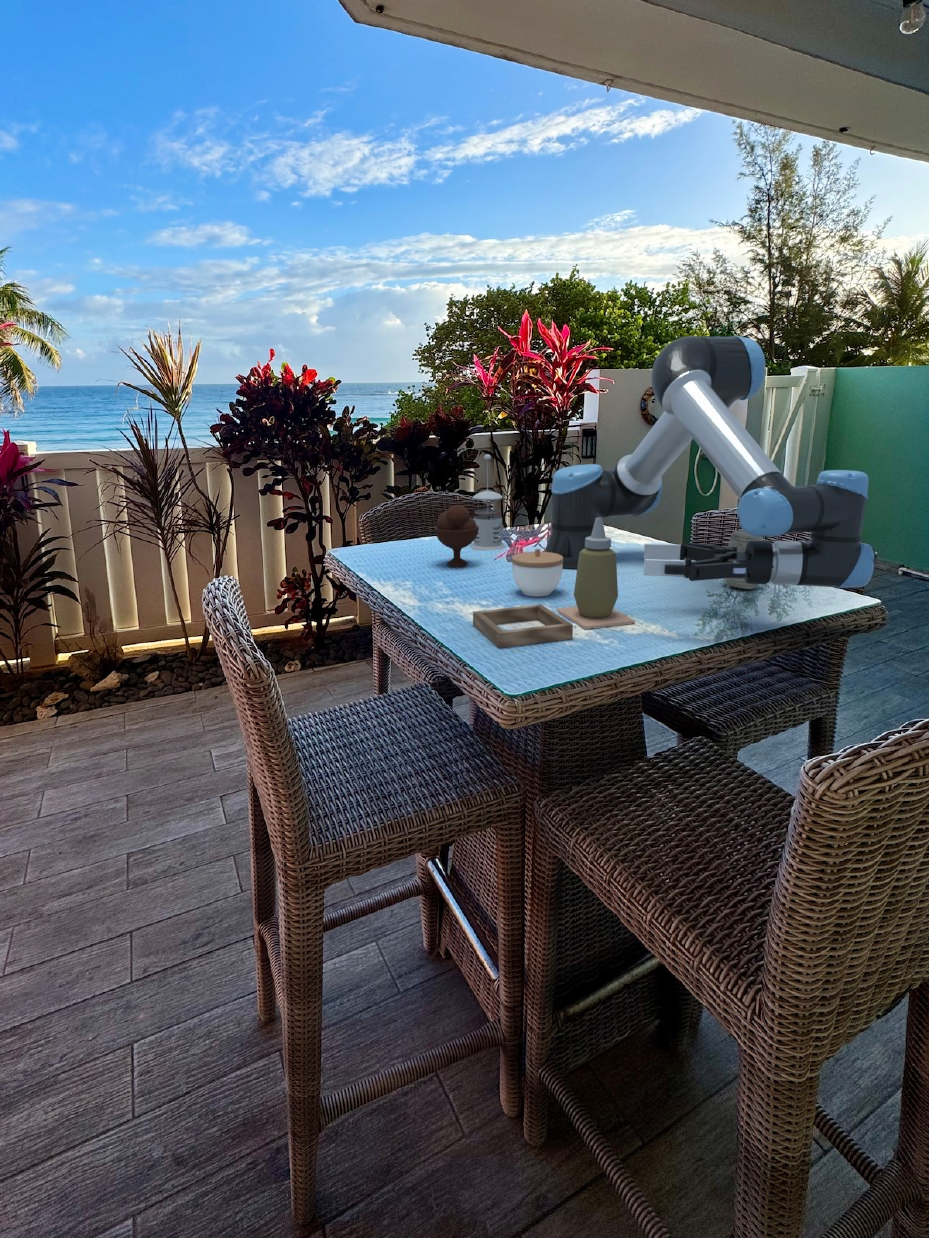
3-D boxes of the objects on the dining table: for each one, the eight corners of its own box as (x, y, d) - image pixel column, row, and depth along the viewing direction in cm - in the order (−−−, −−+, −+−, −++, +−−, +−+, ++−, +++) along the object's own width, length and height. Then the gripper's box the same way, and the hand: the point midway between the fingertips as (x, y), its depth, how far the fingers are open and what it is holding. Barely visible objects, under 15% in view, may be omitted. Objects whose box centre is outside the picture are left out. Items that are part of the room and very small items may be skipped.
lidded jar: (529, 602, 144) (529, 556, 141) (502, 590, 153) (502, 547, 150) (572, 595, 149) (574, 550, 146) (544, 584, 158) (544, 542, 155)
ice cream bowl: (487, 562, 178) (486, 502, 174) (463, 572, 170) (462, 508, 165) (451, 558, 184) (450, 500, 179) (426, 567, 175) (424, 505, 171)
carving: (765, 588, 151) (772, 532, 148) (742, 593, 148) (748, 536, 144) (740, 582, 156) (746, 527, 153) (717, 587, 153) (722, 531, 149)
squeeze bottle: (617, 621, 129) (622, 522, 123) (571, 619, 130) (575, 521, 125) (617, 609, 136) (621, 515, 131) (574, 607, 138) (577, 514, 133)
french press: (467, 550, 194) (466, 455, 186) (473, 541, 205) (473, 452, 197) (503, 550, 192) (503, 455, 185) (508, 542, 203) (508, 452, 196)
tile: (603, 606, 140) (603, 603, 140) (635, 623, 129) (635, 620, 129) (556, 611, 138) (556, 608, 137) (585, 629, 127) (585, 626, 126)
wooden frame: (540, 617, 134) (540, 604, 133) (572, 638, 122) (572, 624, 121) (473, 624, 130) (472, 611, 130) (498, 648, 118) (498, 633, 117)
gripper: (781, 603, 113) (642, 597, 118) (757, 567, 136) (642, 563, 141) (786, 556, 111) (645, 552, 116) (761, 528, 134) (645, 526, 139)
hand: (643, 558), depth 128 cm, fingers open, 13 cm apart
